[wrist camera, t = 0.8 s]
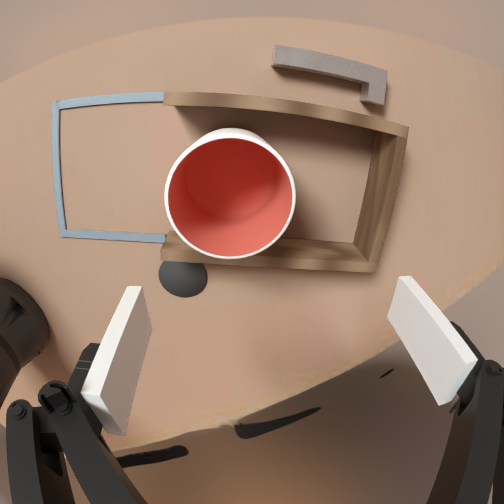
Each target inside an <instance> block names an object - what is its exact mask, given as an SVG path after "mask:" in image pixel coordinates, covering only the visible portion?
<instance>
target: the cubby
mask: <svg viewBox="0 0 504 504" xmlns="http://www.w3.org/2000/svg"><path fill="white" fill-rule="evenodd" d="M163 105H169V106H203V107H222V108H236V109H248V110H258V111H268V112H276V113H284V114H291V115H298V116H305V117H311V118H317V119H323V120H328V121H334V122H339V123H344V124H349V125H353V126H358V127H362V128H367V129H371V130H375V131H376V134H375V140H374V146H373V152H372V158H371V163H370V169H369V174H368V179H367V184H366V189H365V194H364V199H363V203H362V208H361V212H360V217H359V221H358V225H357V229H356V233H355V238H354V242H353V243H344V242H331V241H319V240H305V239H292V238H279V239H278V240H277V241H276V242H275V243H273V244H272V245H271V246H269V247H268V248H267V249H265V250H263V251H261V252H259V253H257V254H254V255H252V256H248V257H244V258H239V259H221V258H215V257H211V256H208V255H205V254H203V253H201V252H199V251H197V250H195V249H193V248H192V247H191V246H189V245H188V244H187V243H186V242H184V241H183V240H182V239H181V238H180V236H179V235H178V234H177V233H176V231H169V233H168V235H167V237H166V239H165V241H164V244H163V246H162V248H161V261H175V262H190V263H206V264H222V265H238V266H255V267H273V268H291V269H310V270H330V271H351V272H374V273H375V270H376V267H377V264H378V261H379V257H380V254H381V251H382V247H383V244H384V240H385V237H386V233H387V229H388V225H389V222H390V218H391V214H392V210H393V206H394V202H395V198H396V193H397V189H398V184H399V180H400V175H401V170H402V165H403V160H404V155H405V149H406V144H407V138H408V131H409V127H407V126H404V125H401V124H397V123H394V122H390V121H387V120H383V119H379V118H375V117H371V116H367V115H363V114H359V113H355V112H350V111H346V110H341V109H336V108H331V107H326V106H321V105H315V104H310V103H304V102H297V101H291V100H284V99H276V98H268V97H259V96H249V95H237V94H223V93H203V92H164V98H163Z"/></svg>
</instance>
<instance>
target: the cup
mask: <svg viewBox="0 0 504 504" xmlns="http://www.w3.org/2000/svg"><path fill="white" fill-rule="evenodd" d="M295 203H296V189H295V183H294V179H293V176H292V174H291V171H290V169H289V167H288V165H287V164H286V162H285V161H284V159H283V158H282V157H281V156H280V155H279V154H278V153H277V152H276V151H275V150H274V149H273V148H272V147H271V146H270V145H269V144H268V143H267V142H266V141H265V140H263V139H262V138H261V137H260V136H258V135H256V134H255V133H253V132H250V131H248V130H244V129H240V128H222V129H218V130H215V131H212V132H210V133H208V134H206V135H204V136H203V137H201V138H200V139H199V140H198V141H196V142H195V143H194V144H193V145H192V146H190V147H189V148H188V149H187V150H186V151H185V152H184V153H183V154H182V155H181V156H180V157H179V158H178V159H177V160H176V162H175V163H174V165H173V167H172V169H171V171H170V173H169V175H168V178H167V182H166V186H165V207H166V212H167V215H168V218H169V220H170V223H171V225H172V226H173V228H174V230H175V231H176V233H177V234H178V235H179V236H180V238H181V239H182V240H183V241H184V242H186V243H187V244H188V245H189V246H191V247H192V248H193V249H195V250H197V251H199V252H201V253H203V254H205V255H208V256H211V257H215V258H221V259H239V258H244V257H248V256H252V255H254V254H257V253H259V252H261V251H263V250H265V249H267V248H268V247H269V246H271V245H272V244H273V243H275V242H276V241H277V240H278V239H279V238H280V237H281V235H282V234H283V233H284V231H285V230H286V228H287V227H288V225H289V223H290V221H291V219H292V216H293V213H294V209H295Z"/></svg>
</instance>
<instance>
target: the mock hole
mask: <svg viewBox="0 0 504 504" xmlns="http://www.w3.org/2000/svg"><path fill="white" fill-rule="evenodd" d="M159 279H160V282H161V284H162V286H163V287H164V288H165V289H166V290H167V291H168V292H170V293H171V294H173V295H176V296H179V297H191V296H194V295H196V294H198V293H200V292H201V291H202V290H203V288H204V287H205V285H206V281H207V274H206V271H205V268H204V267H203V265H202V264H201V263H190V262H175V261H164V262H163V263H162V265H161V267H160V269H159Z"/></svg>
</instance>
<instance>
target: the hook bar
mask: <svg viewBox="0 0 504 504" xmlns="http://www.w3.org/2000/svg"><path fill="white" fill-rule="evenodd" d="M271 66H274V67H281V68H288V69H294V70H300V71H306V72H311V73H317V74H322V75H326V76H331V77H336V78H340V79H344V80H348V81H352V82H356V83H360V84H362V87H361V96H360V101H363V102H367V103H371V104H375V105H384V100H385V92H386V82H387V72H388V71H387V70H384V69H380V68H377V67H374V66H371V65H367V64H364V63H360V62H357V61H353V60H349V59H345V58H341V57H337V56H333V55H329V54H324V53H320V52H315V51H310V50H304V49H299V48H293V47H287V46H280V45H275V47H274V48H273V55H272V64H271Z"/></svg>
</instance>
